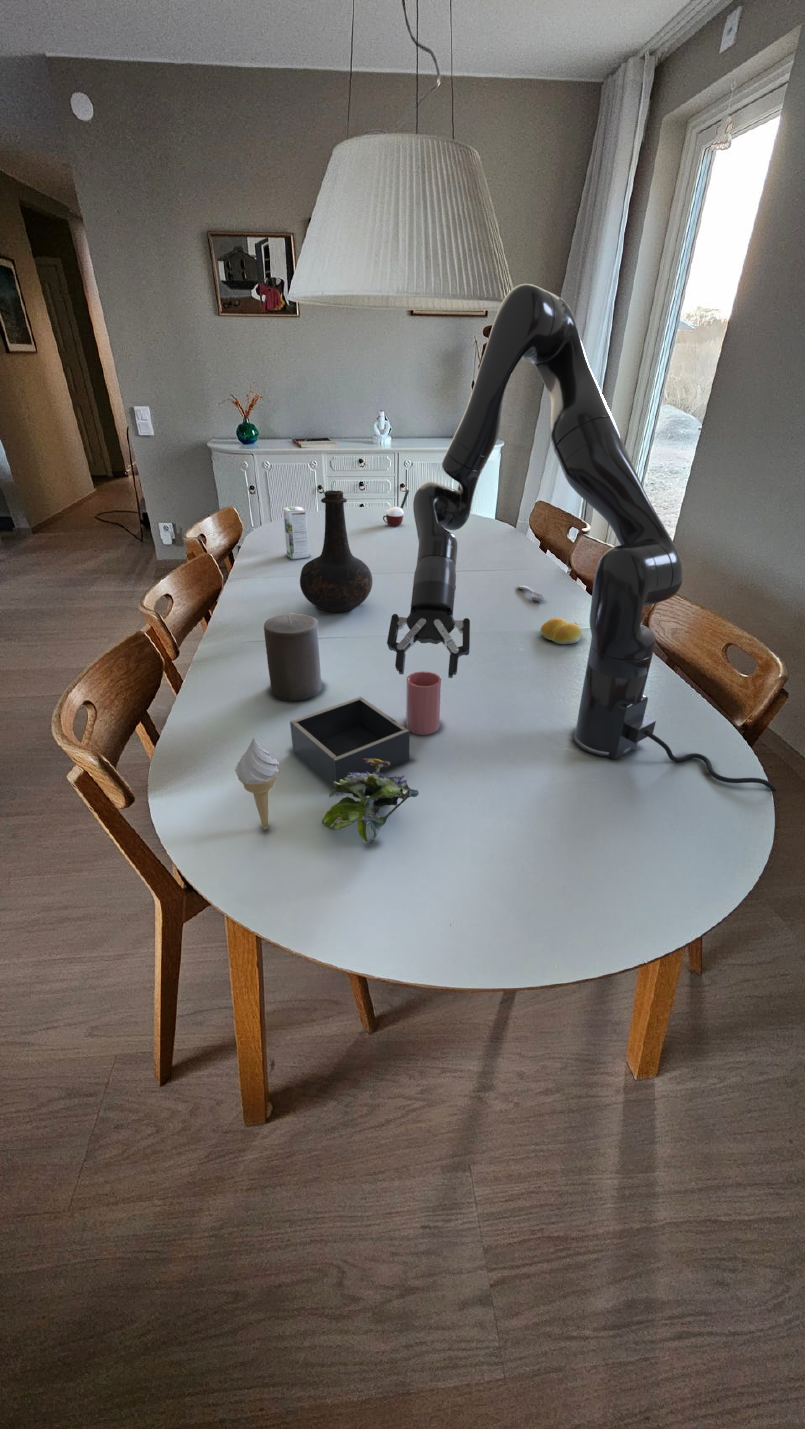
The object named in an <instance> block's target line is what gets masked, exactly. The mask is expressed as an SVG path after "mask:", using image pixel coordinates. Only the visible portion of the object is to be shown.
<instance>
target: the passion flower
mask: <svg viewBox="0 0 805 1429" xmlns="http://www.w3.org/2000/svg"><path fill="white" fill-rule="evenodd" d="M363 762H365V763H367V764H368V765H375V767H376V772H375V773H374V772H373V774H369V772H366V773H367V774H365V773H362V774H361V773H357V772H356V773H355V772H353V773H350V772H349V774H350V775H347V777H346V778H344V779H345V780H346V781H344V780H342V779H340V784H339V783H337V782H334V785H335V786H336V788H335V789H334V788H333V789H332V790H331V791H330V792H329V794H328V798H329V799H330V798H332V797H334V796H339V795H344V794H348V795H352V796H353V798H352V797H350V796H348V795H347V796H344V797H342V798H341V799H340V800H339V801H338V802H336V803H335V804H333V805H332V806H331V807H330V808H329V810H327V811H326V813H325V814H324V816H323V818H322V819H321V824H322V825H324V826H325V827H328V828H329V829H330V830H332V831H338V830H342V829H343V828H346V827H349V826H350V825H352V824H355V823H357V825H356V828H357V831H358V834H359V836H360V838H361V839H362V840H363V841H364V842H365V843H368V841H369V838H368V833H367V826H368V823H370V829H371V830H372V832H373V835H372V839H371V841H370V843H369V845H373V844H374V842H375V840H376V838H377V835H378V833H379V831H380V830H381V828H382V827H383V826H384V825H385V824H386V823H387V819H388V818H389V817H390V816H391V815H392V814H393V813H394V812H395V811H396V810H397V809H398V808H399V807H400V806H401V805H402V804H404V803H405V802H406V801H407V800H408V798H411V797H412V798H416V797H417V796H419V795H420V793H419V790H418V789H414V788H410V787H409V785H408V780H407V779H403V778H405V775H398V776H397V775H390V776H388V775H385V774H383V773H379V769H380V768H382V767H388V766H390V763H389V762H388V761H385V760H379V759H372V758H364V759H363ZM354 798H356V799H359V800H355V799H354ZM399 799H401V801H400V802H399V803H398V800H399ZM372 804H373V812H371V810H370V805H372ZM384 806H393V808H392V809H391V810H390V811H389V812H388V813H386V815H384V816H378V814H377V809H376V807H378V808H382V807H384ZM367 816H370V817H372V819H369V818H368V817H367Z"/></svg>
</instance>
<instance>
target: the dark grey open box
mask: <svg viewBox="0 0 805 1429" xmlns="http://www.w3.org/2000/svg"><path fill="white" fill-rule="evenodd" d="M289 724H290V727H289V728H290V736H291V744H292V752H294V753H295V754H296V755H297V756H298V757H299V758H300V759H301V760H302V761H303V762H305V763H306V764H307V765H308V766H309V767H310V768H311V769H312V770H313V771H314V772H315V773H316V774H317V775H319V777H321V778H322V779H323V781H325V782H326V783H327V784H328V785H329V786H330V787H332V788H333V790H334V789H335V788H336V786H335V785H334V782H337V783H339V784H340V779H342V780H344V781H346V780H345V779H344V778H346V777H347V775H350V774H349V772H350V773H353V772H355V773H356V772H357V773H361V774H362V773H365V774H367V773H366V772H369V774H373V772H374V773H375V772H376V767H375V765H368V764H367V763H365V762H363V759H364V758H372V759H379V760H385V761H388V762H389V763H390V766H388V767H382V768H380V769H379V773H380V774H382V773H384V772H385V771H388V770H390V769H392V768H394V767H397V766H399V765H401V764H404V763H406V762H409V761H410V747H411V746H410V742H411V740H410V737H411V735H410V734H411V732H410V731H409V730H408V729H407V727H405V726H403V725H402V724H401V723H399V722H398V721H396V720H395V719H394V718H392V717H390V716H389V715H388V714H387V713H385V712H384V711H382V710H381V709H379V708H378V707H376V706H375V705H374V704H372V703H371V702H369V701H368V700H366V699H365V698H364V697H362V696H359V697H356V698H352V699H351V700H348V701H344V702H342V703H339V704H336V705H333V706H330V707H328V708H324V709H322V710H319V711H316V712H314V713H313V712H312V713H310V714H307V715H305V716H302V717H298V718H296V719H293V720H290V721H289Z"/></svg>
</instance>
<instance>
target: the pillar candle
mask: <svg viewBox="0 0 805 1429" xmlns="http://www.w3.org/2000/svg"><path fill="white" fill-rule="evenodd" d="M263 632H264V643H265V648H266V649H265V650H266V651H265V652H266V660H267V661H266V662H267V669H268V675H269V682H270V689H271V690H270V693H271V695H272V696H273V697H274V698H277V699H278V700H281V701H283V702H300V701H304V700H305V701H306V700H309V699H312V698H314V697H316V696H318V695H319V694H320V692H321V691H322V675H321V673H322V672H321V660H320V648H319V647H320V646H319V634H318V620H317V619H315V617H312V616H311V615H306V614H302V613H294V612H293V613H292V612H290V613H284V614H278V615H275V616H272V617H269V618H267V619H266V620H265V621H264V623H263Z"/></svg>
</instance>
